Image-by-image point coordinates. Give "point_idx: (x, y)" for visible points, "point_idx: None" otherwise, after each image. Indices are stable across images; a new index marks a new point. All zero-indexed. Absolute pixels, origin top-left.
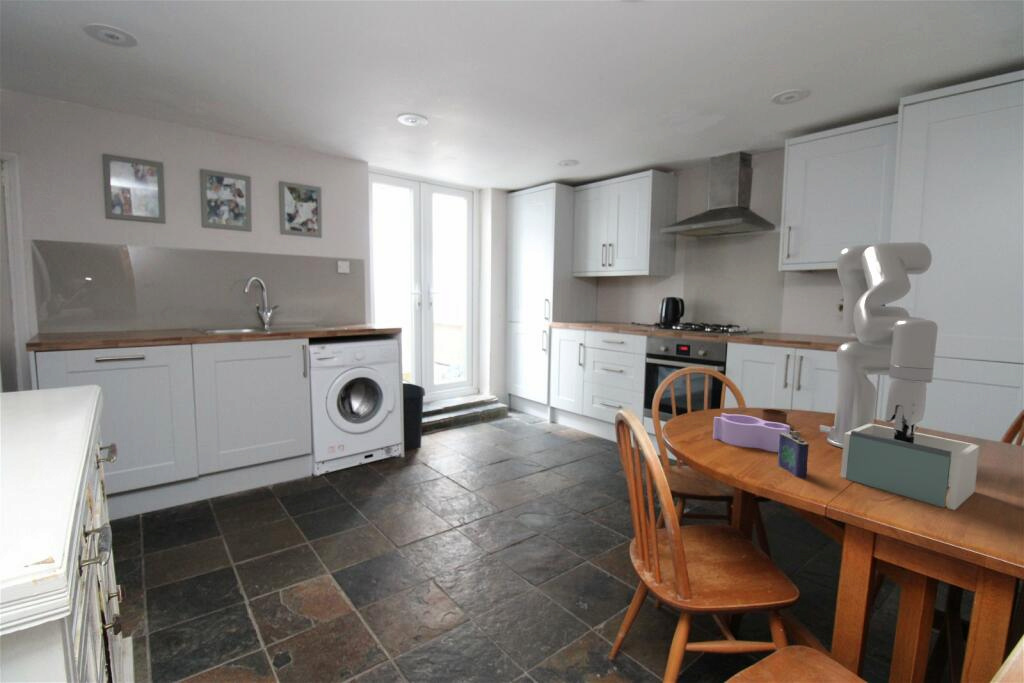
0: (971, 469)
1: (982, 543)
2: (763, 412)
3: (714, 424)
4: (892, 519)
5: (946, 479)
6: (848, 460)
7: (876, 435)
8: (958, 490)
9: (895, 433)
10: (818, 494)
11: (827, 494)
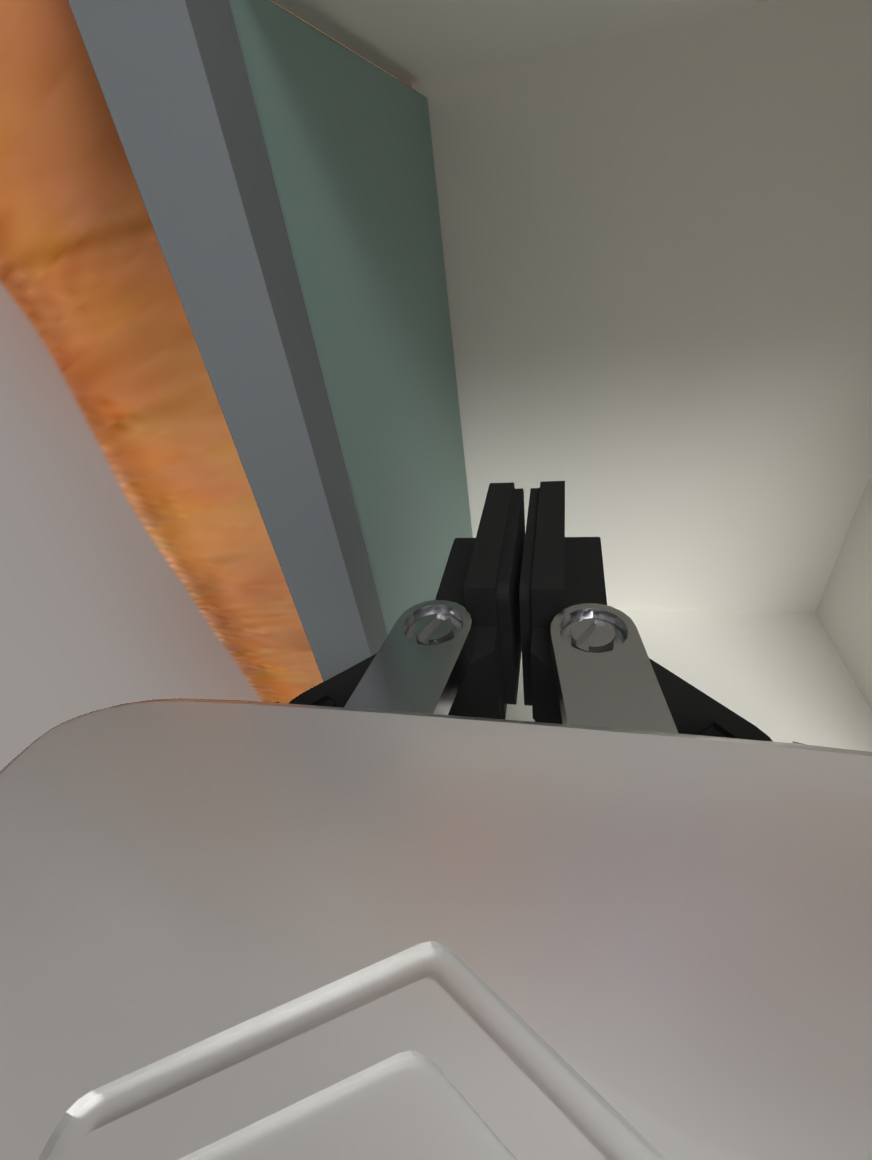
0: None
1: (310, 680)
2: None
3: None
4: (193, 503)
5: None
6: (378, 43)
7: (303, 415)
8: None
9: (399, 627)
10: (40, 144)
11: (98, 178)
